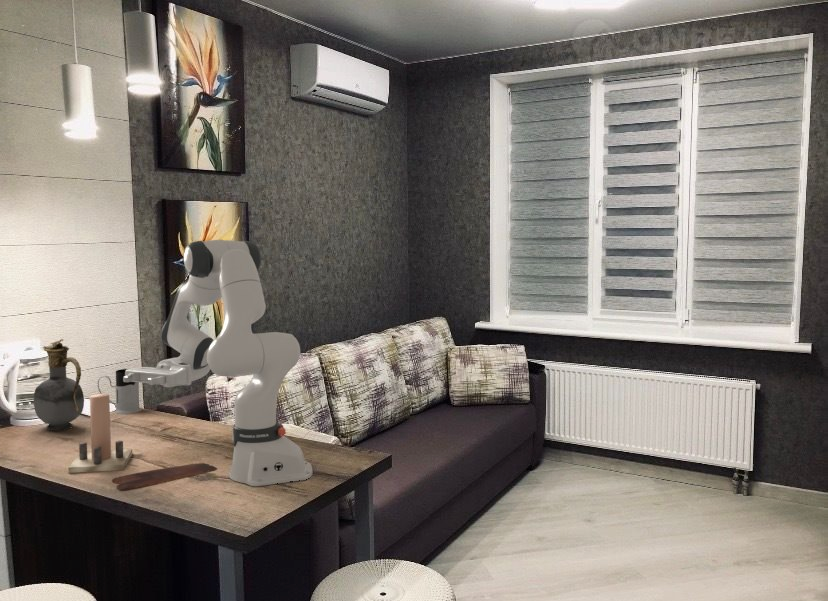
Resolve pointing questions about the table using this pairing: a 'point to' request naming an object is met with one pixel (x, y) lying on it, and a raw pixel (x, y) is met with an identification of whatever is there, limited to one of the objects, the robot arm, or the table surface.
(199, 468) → the wooden tablet
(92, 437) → the post
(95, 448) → the peg stand
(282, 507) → the table surface
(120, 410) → the glass holder
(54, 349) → the pitcher
